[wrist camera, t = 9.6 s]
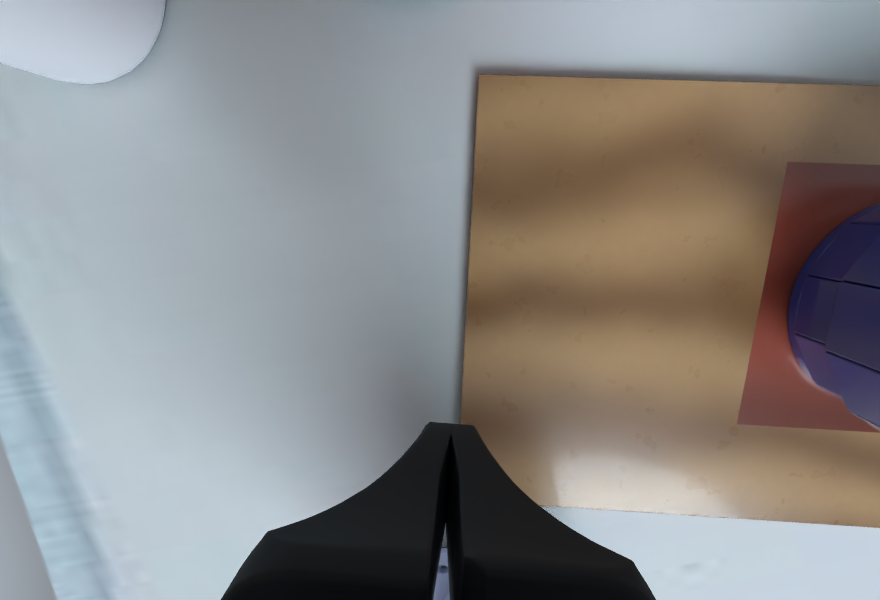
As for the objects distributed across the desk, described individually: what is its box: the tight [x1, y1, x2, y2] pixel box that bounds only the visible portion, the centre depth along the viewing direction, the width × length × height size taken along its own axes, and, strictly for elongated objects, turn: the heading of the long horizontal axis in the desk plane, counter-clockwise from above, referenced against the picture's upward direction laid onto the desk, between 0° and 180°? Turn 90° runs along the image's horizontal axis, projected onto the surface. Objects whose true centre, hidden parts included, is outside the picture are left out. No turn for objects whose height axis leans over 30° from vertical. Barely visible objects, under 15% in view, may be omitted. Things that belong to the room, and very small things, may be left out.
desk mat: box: [460, 74, 880, 528], centre depth 20 cm, size 20×25×1 cm
